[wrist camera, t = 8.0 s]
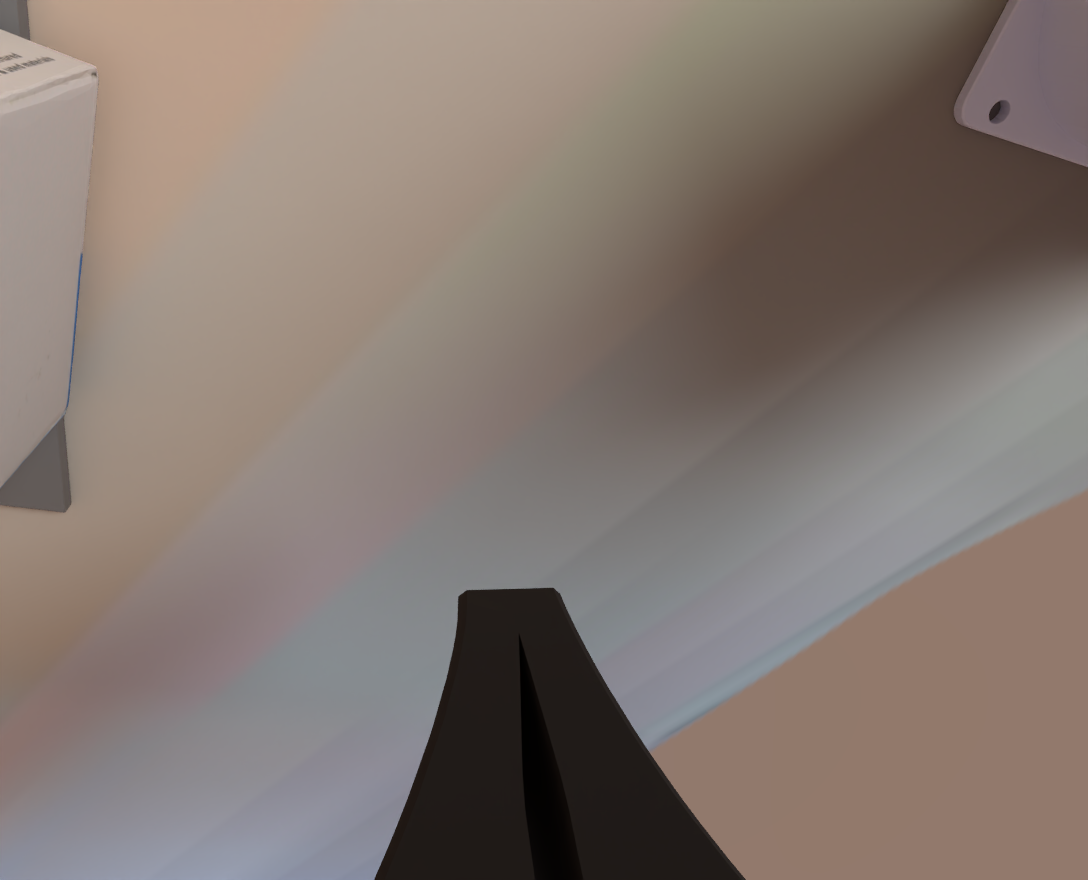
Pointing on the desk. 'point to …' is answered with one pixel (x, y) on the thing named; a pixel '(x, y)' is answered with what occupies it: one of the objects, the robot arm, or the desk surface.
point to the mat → (47, 465)
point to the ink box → (40, 234)
